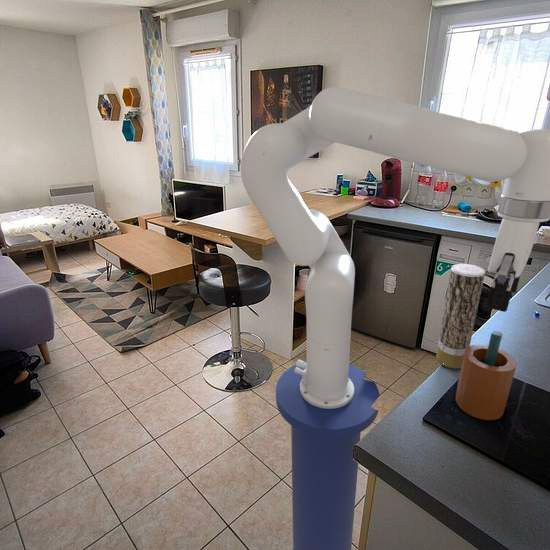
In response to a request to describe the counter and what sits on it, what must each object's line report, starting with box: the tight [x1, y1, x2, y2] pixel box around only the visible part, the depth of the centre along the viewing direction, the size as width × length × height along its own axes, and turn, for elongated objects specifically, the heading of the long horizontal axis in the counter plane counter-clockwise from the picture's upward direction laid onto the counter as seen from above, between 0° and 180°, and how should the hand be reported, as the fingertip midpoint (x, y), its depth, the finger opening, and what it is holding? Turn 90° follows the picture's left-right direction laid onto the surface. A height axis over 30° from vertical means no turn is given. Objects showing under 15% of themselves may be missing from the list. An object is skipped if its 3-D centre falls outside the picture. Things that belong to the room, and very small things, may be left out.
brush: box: [484, 330, 503, 366], centre depth 73 cm, size 4×4×17 cm
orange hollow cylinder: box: [455, 344, 518, 421], centre depth 75 cm, size 9×9×12 cm
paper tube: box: [435, 263, 486, 370], centre depth 86 cm, size 7×7×25 cm
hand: (501, 299), depth 68 cm, fingers open, 9 cm apart
